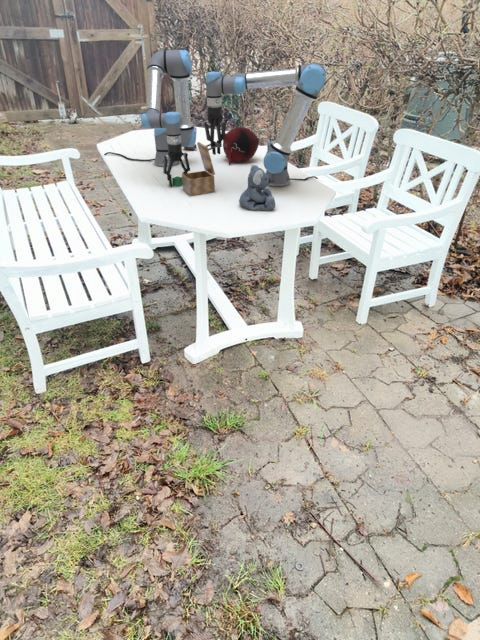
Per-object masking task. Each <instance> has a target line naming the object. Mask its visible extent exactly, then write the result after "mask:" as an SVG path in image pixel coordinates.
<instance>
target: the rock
mask: <svg viewBox="0 0 480 640" xmlns="http://www.w3.org/2000/svg"><path fill="white" fill-rule="evenodd" d="M183 148H184V150H186V151H187V150H188V151H189V150H191V151H192V150H193V151H194V150H197V149H198V146H197V143H195V146H194V147H183Z"/></svg>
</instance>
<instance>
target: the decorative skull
mask: <svg viewBox="0 0 480 640" xmlns="http://www.w3.org/2000/svg"><path fill="white" fill-rule="evenodd" d="M259 145H260V139H259V138H258V136H257V135H256V133H254V132H253V131H252V130H251V129H250V128H248V127H243V126H242V127H241V126H238V127H235V128H233V129H231V130H229V131H227V132H225V139H223V140H222V149H223V153H224V154H225V157H226V159H227V161H228V165H229V166H231V164H232V162H234V163H235V162H236V163H245V162H247V161H249V160H251V159H252V158H253V157H254V156H255V154H256V153H257V151H258V148H259Z"/></svg>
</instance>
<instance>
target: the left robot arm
mask: <svg viewBox="0 0 480 640" xmlns="http://www.w3.org/2000/svg"><path fill="white" fill-rule="evenodd" d="M192 73H193V64H192V59H191V55H190V52H189V51H188V50H186V49H160V50H158V51H156V52H155V53H154V54H153V55H152V56H151V57H150V59H149V61H148V63H147V66H146V76H148V77H147V91H146V103H145V104H146V106H145V112H144V113H142V114H141V116H140V121H141V126H142V127H143V128H144V129H153V136H154V145H155V155H154V158H150V159H142V158H141V159H139V158H131V157H127V156H126V155H125V154H122V153H118V152H117V153H116V152H112V151H108V152H105V153H104V154H103V156H106V155H109V154H111V155H116V156H121V157H122V158H125V159H126V160H129V161H138V162H153V161H154V165H155V166H157V167H163V171H162V173H163V174H164V175H166V179H167V181H168V182H169V183H168V184H169V187H171V188H173V182H172V178H173V177H172V174H171V171H172V169H173V167H174V166H177V165H178V164H180V166H181V168H182V174H186V173H189V172H190V171H191V167H190V163H189V158H188V155H189V154H188V152H185V151H184V152H183V148H184V147H194V146H195V144H197V142H196V141H197V127H196V126H195V125H194V123H193V121H192V117H191V105H190V92H189V91H190V90H189V79H190V78H191V74H192ZM165 74H169V78H170V79H171V80H172V82H173V83H172V84H173V93H174V105H175V111H167V112H163V113H161V99H162V83H163V82H162V81H163V78H164V76H165ZM182 157H183V159H184V162H183V159H182Z"/></svg>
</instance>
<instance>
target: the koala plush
mask: <svg viewBox="0 0 480 640" xmlns="http://www.w3.org/2000/svg"><path fill="white" fill-rule="evenodd" d="M269 183H270V179H269V178H268V177H267V174H266V171H265V170H264V169H263V168H261V167H259V165H257V164H253V165H250V170H249V173H248V176H247V188H246V189H245V190H244V191H243V192H242V193H241V194H240V197H239V199H238V203H239V204H240V206H241V207H242V208H246V209H247V210H252V211H255V210H261V211H272V210H274V209H275V208H276V200H275V198H274V196H273V194H272V191H271V188H270V187H268V186H267V185H268V184H269Z"/></svg>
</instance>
